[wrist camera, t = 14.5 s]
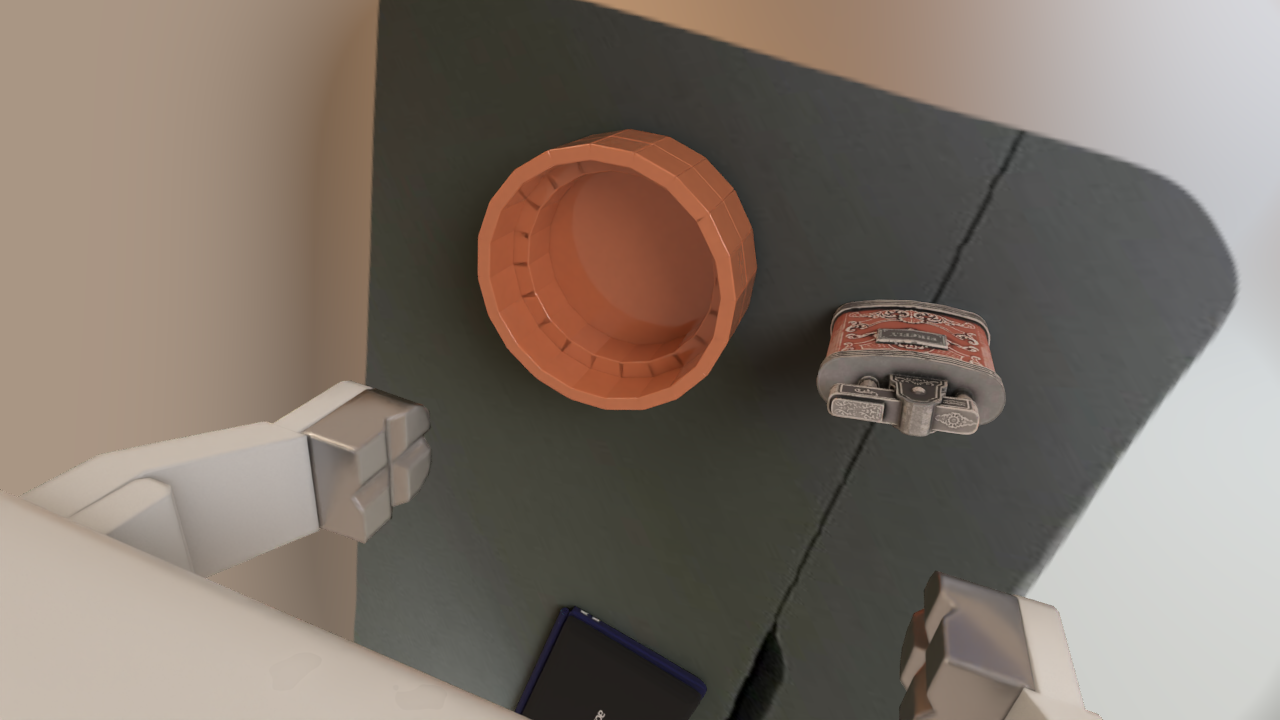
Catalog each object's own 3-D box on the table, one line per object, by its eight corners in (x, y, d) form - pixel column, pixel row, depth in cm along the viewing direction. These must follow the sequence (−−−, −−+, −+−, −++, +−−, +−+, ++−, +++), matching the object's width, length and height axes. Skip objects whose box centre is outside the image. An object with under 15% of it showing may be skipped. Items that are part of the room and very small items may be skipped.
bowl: (782, 156, 36) (761, 177, 31) (731, 391, 43) (707, 441, 38) (533, 108, 39) (477, 120, 34) (524, 333, 46) (476, 371, 41)
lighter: (994, 307, 35) (1021, 395, 27) (982, 366, 37) (1004, 467, 28) (834, 293, 38) (813, 370, 29) (829, 349, 39) (807, 437, 31)
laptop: (491, 695, 66) (480, 713, 64) (577, 587, 55) (567, 604, 53) (625, 794, 65) (617, 815, 63) (739, 703, 54) (733, 725, 53)
